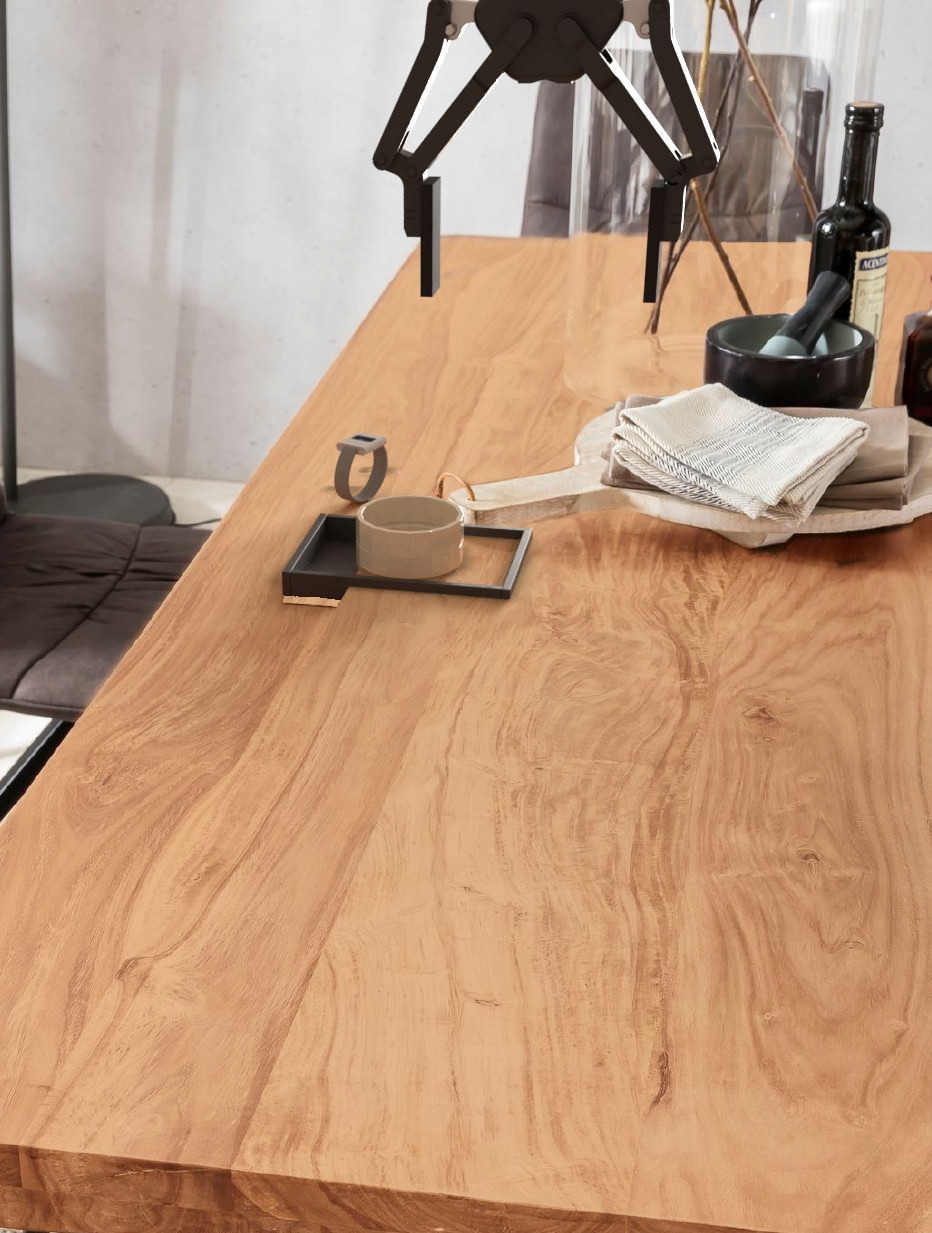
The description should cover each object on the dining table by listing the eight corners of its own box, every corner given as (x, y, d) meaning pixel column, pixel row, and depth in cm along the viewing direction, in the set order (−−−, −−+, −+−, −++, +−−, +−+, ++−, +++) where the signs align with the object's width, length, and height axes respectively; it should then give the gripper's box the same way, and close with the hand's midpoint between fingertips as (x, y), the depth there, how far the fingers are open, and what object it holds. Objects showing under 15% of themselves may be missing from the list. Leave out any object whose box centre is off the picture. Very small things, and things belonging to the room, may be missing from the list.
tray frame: (531, 559, 129) (533, 528, 128) (508, 622, 119) (510, 590, 118) (320, 543, 132) (320, 513, 131) (282, 603, 123) (281, 571, 121)
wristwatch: (355, 515, 137) (355, 453, 134) (326, 508, 138) (325, 447, 135) (396, 492, 141) (396, 431, 138) (367, 485, 142) (367, 426, 140)
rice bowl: (469, 557, 128) (471, 498, 125) (451, 597, 122) (453, 536, 119) (369, 549, 129) (369, 491, 127) (346, 589, 123) (346, 528, 121)
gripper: (787, -113, 95) (748, 285, 107) (347, -103, 100) (354, 276, 112) (786, -107, 89) (744, 315, 100) (317, -96, 94) (328, 304, 106)
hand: (539, 295), depth 106 cm, fingers open, 13 cm apart
